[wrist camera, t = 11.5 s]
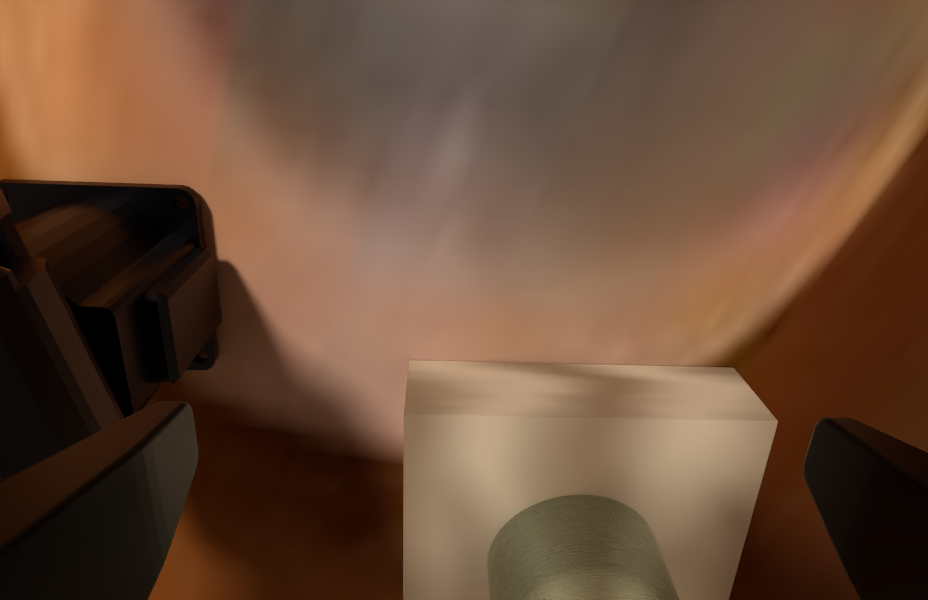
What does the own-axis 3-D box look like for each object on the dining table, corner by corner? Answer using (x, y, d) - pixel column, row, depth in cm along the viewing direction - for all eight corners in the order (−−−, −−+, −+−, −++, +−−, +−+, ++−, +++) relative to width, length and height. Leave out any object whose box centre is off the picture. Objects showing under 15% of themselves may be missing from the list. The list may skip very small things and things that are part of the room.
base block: (407, 601, 28) (402, 676, 25) (409, 360, 24) (403, 414, 20) (678, 603, 29) (707, 677, 26) (733, 367, 24) (778, 421, 21)
